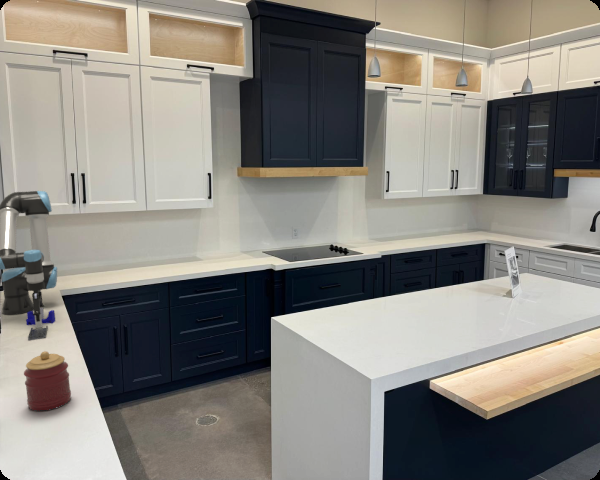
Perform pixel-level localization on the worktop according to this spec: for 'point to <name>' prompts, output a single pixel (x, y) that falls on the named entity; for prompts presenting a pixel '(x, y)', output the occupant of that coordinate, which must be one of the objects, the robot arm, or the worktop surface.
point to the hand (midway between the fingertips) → (40, 323)
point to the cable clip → (48, 320)
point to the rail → (37, 333)
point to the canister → (47, 382)
